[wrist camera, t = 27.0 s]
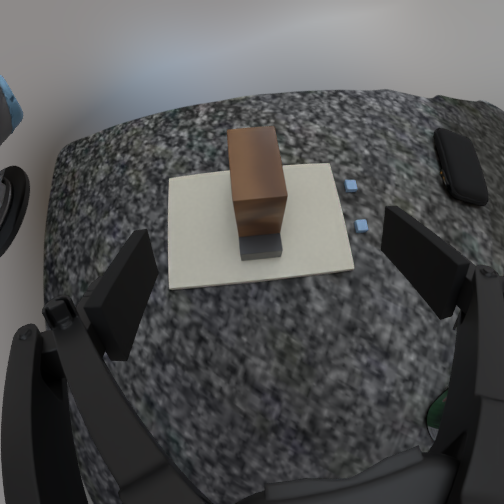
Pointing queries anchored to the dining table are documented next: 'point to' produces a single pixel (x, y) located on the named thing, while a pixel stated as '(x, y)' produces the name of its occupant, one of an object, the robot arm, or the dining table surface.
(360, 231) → the blue square block
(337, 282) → the dining table surface
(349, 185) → the small blue block
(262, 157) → the eraser
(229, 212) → the board
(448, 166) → the carrying case
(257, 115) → the dining table surface
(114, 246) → the dining table surface
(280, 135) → the dining table surface
